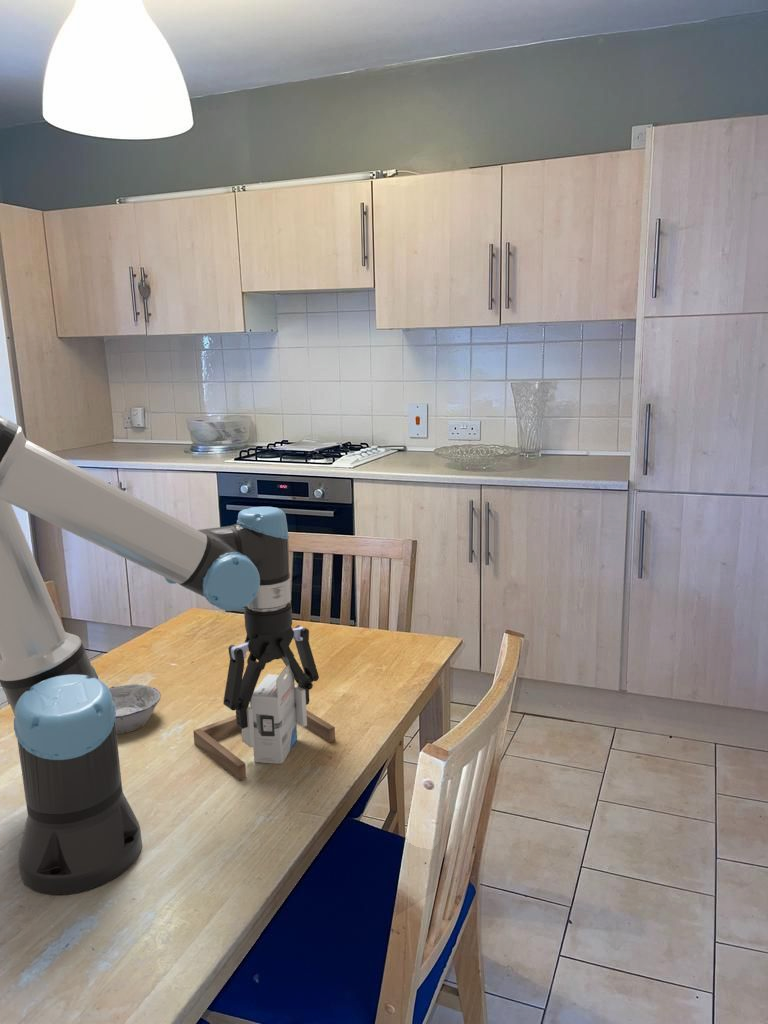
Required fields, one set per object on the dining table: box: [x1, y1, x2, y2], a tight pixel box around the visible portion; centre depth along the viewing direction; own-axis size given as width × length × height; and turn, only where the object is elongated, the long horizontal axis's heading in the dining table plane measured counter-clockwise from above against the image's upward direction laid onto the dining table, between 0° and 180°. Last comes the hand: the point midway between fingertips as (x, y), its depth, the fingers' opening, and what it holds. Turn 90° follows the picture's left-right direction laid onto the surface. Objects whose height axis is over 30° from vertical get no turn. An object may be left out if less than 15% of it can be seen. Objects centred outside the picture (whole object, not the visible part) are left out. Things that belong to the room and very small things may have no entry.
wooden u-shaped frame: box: [192, 709, 336, 781], centre depth 132 cm, size 18×15×2 cm
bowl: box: [108, 683, 162, 735], centre depth 140 cm, size 13×13×5 cm
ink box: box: [249, 664, 298, 765], centre depth 128 cm, size 9×5×15 cm, turn 168°
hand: (275, 733), depth 129 cm, fingers closed on ink box, 9 cm apart
